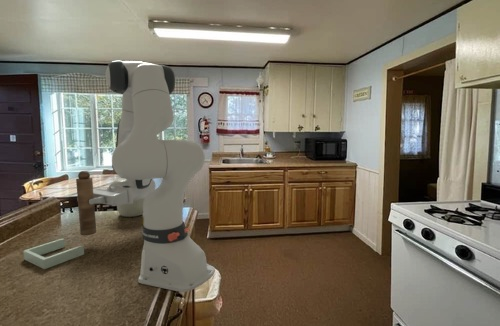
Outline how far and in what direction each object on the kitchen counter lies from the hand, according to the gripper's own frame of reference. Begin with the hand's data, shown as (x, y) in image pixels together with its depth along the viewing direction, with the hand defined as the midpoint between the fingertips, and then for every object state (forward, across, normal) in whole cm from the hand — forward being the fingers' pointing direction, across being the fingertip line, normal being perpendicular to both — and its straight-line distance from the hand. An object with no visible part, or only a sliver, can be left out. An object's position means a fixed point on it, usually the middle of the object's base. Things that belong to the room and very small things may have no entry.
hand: (83, 200), depth 101 cm
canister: (-34, -19, +16) cm, 42 cm away
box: (+10, -1, +17) cm, 20 cm away
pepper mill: (-1, 0, +12) cm, 12 cm away
